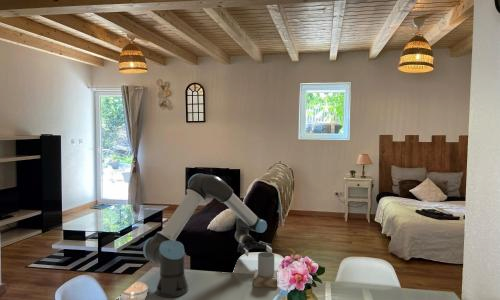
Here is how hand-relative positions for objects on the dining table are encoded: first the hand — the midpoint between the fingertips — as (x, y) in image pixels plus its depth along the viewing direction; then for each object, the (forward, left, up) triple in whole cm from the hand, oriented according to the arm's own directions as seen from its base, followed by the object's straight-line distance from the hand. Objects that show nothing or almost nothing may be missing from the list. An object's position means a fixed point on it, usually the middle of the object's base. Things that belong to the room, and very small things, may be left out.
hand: (259, 252), depth 200 cm
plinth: (+4, -9, -12) cm, 16 cm away
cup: (+4, -9, -8) cm, 13 cm away
